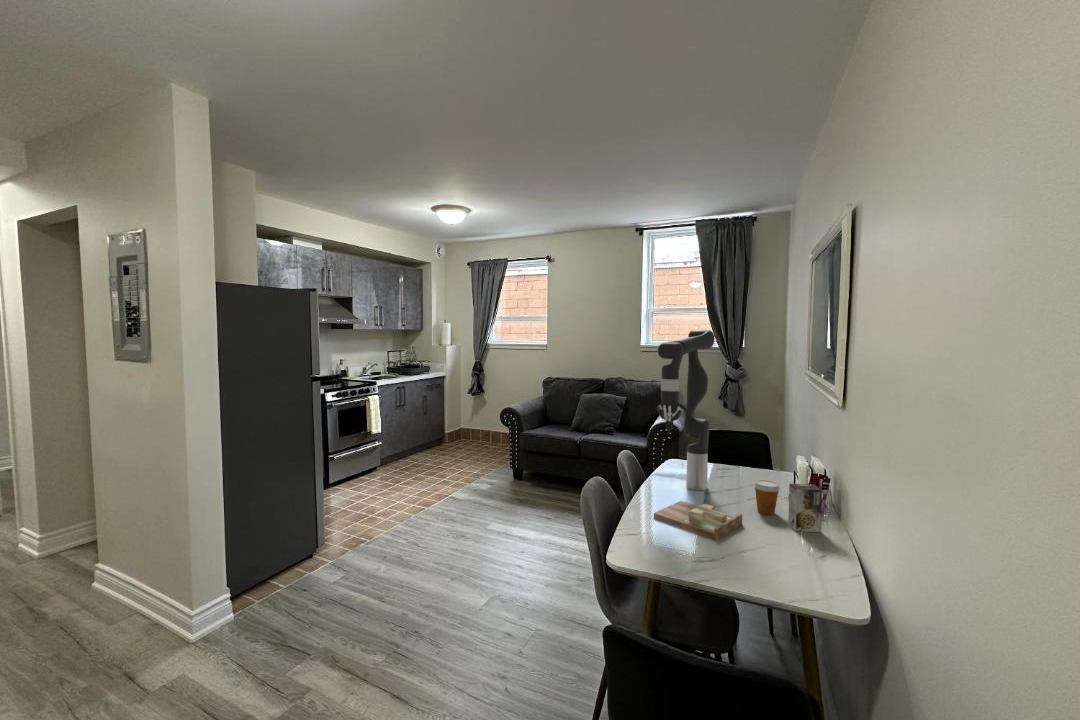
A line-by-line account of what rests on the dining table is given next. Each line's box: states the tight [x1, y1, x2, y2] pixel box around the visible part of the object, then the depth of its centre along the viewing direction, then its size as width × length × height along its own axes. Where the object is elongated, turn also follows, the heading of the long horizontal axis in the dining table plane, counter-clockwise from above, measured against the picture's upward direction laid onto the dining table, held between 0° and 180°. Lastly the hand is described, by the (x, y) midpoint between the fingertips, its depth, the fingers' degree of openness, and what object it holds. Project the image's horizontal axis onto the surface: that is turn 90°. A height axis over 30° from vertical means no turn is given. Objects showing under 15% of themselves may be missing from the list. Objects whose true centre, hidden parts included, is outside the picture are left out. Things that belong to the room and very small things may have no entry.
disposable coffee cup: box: [753, 479, 780, 516], centre depth 183 cm, size 10×10×12 cm
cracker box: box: [787, 483, 823, 533], centre depth 167 cm, size 9×6×16 cm
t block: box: [689, 503, 728, 525], centre depth 169 cm, size 12×11×4 cm
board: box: [653, 500, 743, 541], centre depth 173 cm, size 20×26×4 cm
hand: (669, 429), depth 191 cm, fingers closed
